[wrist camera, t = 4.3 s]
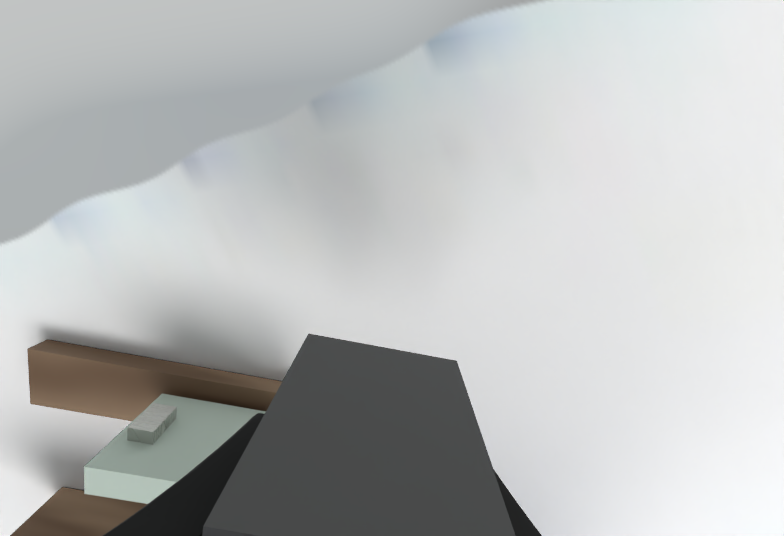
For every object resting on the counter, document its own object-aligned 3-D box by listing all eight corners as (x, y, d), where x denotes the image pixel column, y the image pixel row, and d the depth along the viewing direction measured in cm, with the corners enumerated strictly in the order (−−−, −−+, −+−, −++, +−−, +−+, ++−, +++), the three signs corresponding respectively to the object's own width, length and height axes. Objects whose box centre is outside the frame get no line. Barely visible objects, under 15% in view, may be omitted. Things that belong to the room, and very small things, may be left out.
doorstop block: (424, 482, 12) (453, 779, 6) (289, 459, 12) (183, 742, 6) (456, 361, 11) (530, 578, 5) (308, 333, 11) (203, 525, 5)
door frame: (376, 551, 21) (370, 677, 16) (53, 500, 21) (-66, 613, 15) (411, 404, 19) (418, 494, 14) (47, 339, 18) (-99, 408, 13)
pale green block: (284, 436, 18) (248, 520, 14) (161, 415, 18) (84, 493, 13) (289, 404, 17) (253, 481, 13) (162, 382, 17) (83, 452, 13)
